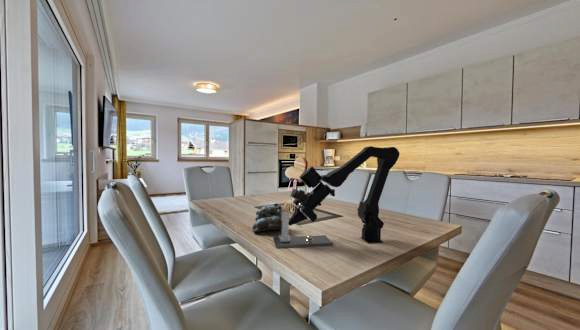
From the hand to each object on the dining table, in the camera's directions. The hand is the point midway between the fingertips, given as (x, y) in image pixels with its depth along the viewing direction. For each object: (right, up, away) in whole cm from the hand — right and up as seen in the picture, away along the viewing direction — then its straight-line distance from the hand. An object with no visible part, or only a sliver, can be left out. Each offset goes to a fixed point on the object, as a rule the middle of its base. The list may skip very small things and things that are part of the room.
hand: (288, 224), depth 91 cm
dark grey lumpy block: (-10, -7, +15) cm, 20 cm away
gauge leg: (-2, -6, 0) cm, 6 cm away
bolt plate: (+5, -7, +1) cm, 9 cm away
